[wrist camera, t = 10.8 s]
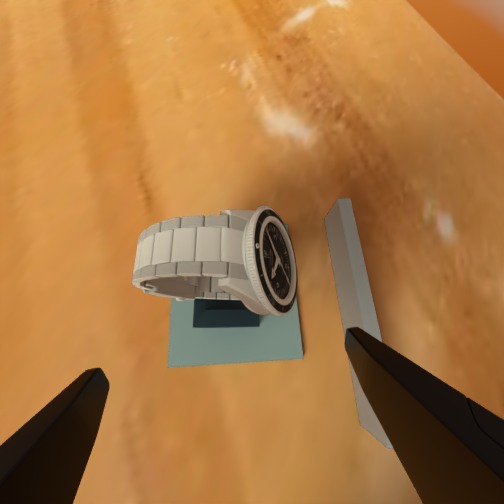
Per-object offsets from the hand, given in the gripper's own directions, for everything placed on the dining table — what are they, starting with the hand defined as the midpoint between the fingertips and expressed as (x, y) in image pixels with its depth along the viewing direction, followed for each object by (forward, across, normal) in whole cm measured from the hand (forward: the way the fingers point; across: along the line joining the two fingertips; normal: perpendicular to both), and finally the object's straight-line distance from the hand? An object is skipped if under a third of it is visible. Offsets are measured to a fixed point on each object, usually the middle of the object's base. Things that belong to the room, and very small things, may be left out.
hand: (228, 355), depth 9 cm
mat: (+10, 0, +4) cm, 11 cm away
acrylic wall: (+8, -9, +6) cm, 13 cm away
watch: (+10, 0, +4) cm, 11 cm away
